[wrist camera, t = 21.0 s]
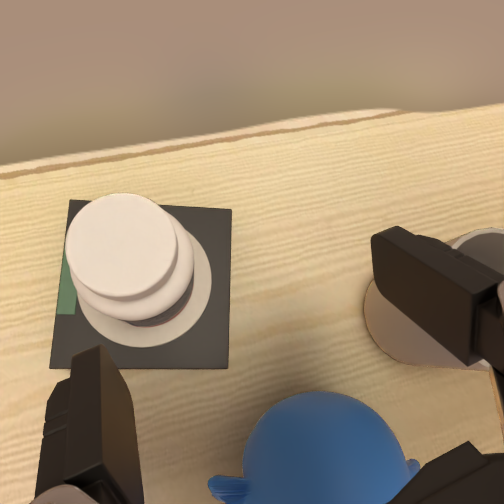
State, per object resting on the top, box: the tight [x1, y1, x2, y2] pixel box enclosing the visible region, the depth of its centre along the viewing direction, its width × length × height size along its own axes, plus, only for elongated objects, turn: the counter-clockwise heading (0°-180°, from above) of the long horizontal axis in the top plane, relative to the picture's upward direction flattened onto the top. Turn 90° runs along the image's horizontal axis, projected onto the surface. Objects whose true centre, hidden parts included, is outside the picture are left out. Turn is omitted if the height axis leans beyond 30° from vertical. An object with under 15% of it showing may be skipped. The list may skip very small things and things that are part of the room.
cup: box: [364, 227, 504, 371], centre depth 24 cm, size 7×10×9 cm
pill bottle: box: [65, 193, 194, 327], centre depth 19 cm, size 5×5×9 cm
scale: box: [49, 200, 232, 369], centre depth 25 cm, size 10×10×3 cm
